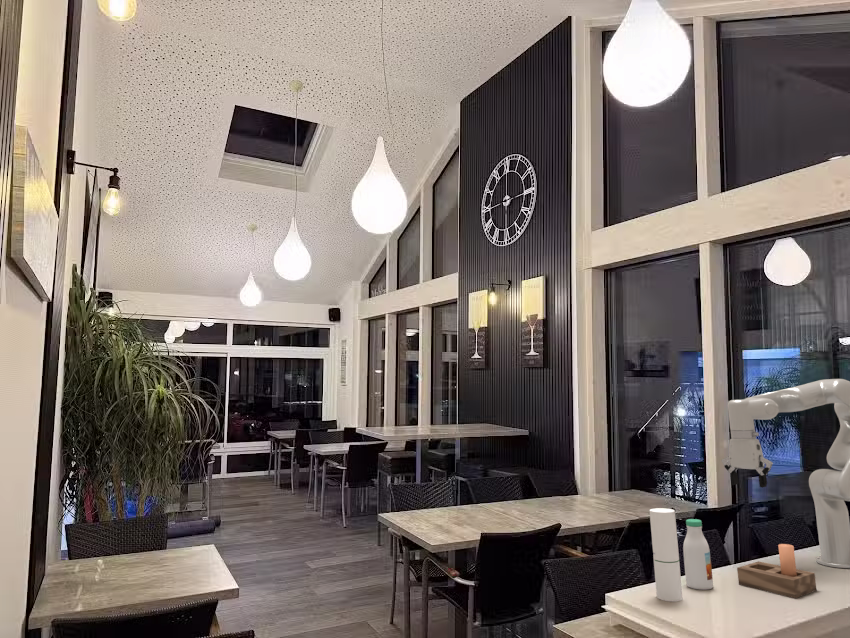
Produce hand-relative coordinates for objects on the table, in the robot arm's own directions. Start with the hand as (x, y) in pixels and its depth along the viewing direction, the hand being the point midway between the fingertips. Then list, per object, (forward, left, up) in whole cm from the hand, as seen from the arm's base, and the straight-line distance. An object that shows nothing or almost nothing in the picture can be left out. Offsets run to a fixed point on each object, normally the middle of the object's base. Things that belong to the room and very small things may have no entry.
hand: (749, 485), depth 207 cm
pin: (+14, +18, -27) cm, 35 cm away
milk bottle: (+31, 0, -28) cm, 42 cm away
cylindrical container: (+47, +1, -28) cm, 55 cm away
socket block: (+14, +14, -28) cm, 34 cm away
